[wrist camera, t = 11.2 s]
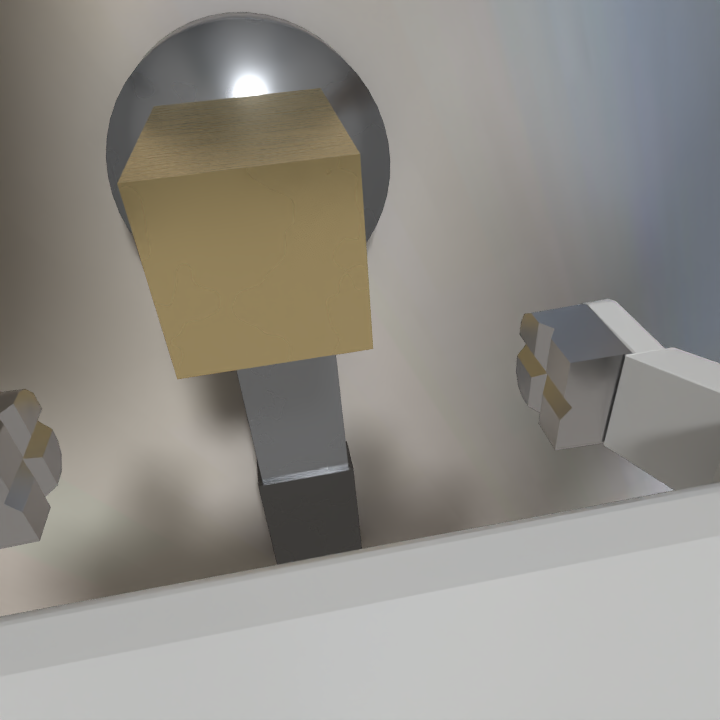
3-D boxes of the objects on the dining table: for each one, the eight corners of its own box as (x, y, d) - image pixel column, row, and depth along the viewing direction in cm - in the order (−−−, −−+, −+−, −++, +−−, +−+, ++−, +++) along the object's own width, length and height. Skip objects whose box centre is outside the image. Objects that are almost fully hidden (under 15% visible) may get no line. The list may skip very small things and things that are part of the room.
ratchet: (77, 27, 18) (33, 51, 14) (370, -2, 19) (409, 14, 15) (239, 566, 33) (241, 652, 29) (397, 535, 34) (419, 615, 30)
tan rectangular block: (320, 88, 18) (360, 153, 13) (335, 240, 21) (373, 348, 16) (153, 106, 18) (117, 183, 12) (192, 259, 21) (177, 379, 15)
